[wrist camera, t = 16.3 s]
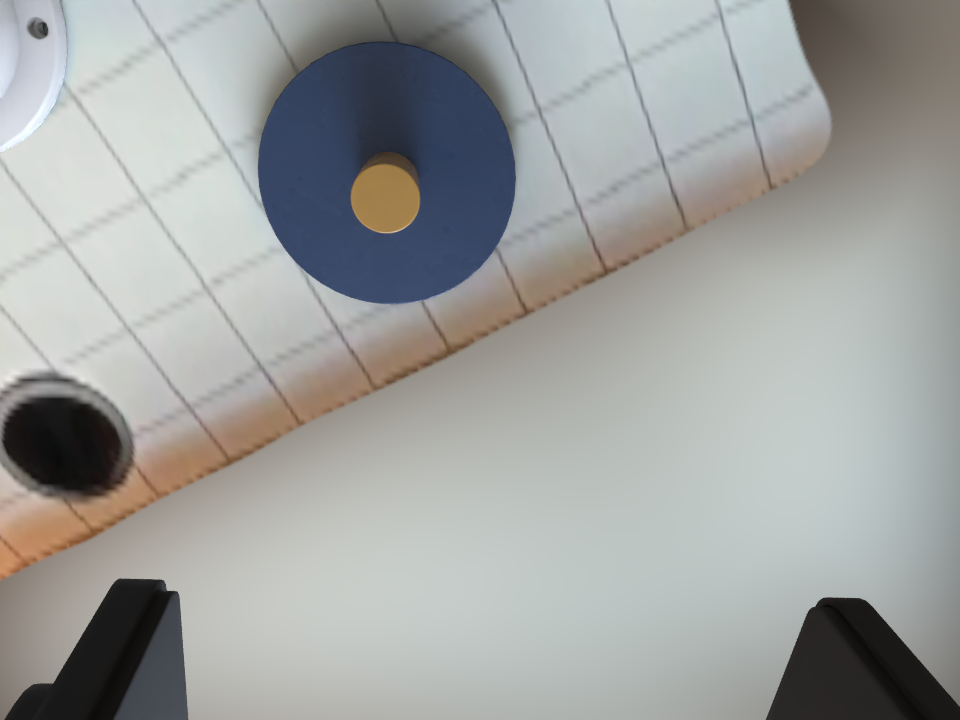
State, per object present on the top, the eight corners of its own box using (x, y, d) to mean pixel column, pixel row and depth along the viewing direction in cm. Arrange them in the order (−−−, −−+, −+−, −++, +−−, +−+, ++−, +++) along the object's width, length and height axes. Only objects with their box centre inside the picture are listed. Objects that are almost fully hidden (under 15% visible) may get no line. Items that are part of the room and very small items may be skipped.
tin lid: (298, 315, 37) (277, 358, 31) (230, 65, 32) (190, 62, 26) (525, 277, 37) (546, 312, 31) (494, 23, 32) (512, 11, 26)
